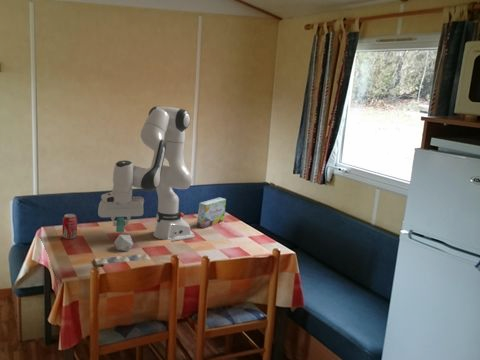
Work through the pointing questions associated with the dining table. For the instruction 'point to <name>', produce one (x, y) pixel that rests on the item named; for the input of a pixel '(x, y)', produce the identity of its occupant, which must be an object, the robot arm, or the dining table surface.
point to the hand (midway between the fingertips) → (120, 225)
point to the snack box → (211, 212)
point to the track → (101, 261)
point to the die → (123, 242)
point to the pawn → (120, 224)
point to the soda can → (69, 226)
